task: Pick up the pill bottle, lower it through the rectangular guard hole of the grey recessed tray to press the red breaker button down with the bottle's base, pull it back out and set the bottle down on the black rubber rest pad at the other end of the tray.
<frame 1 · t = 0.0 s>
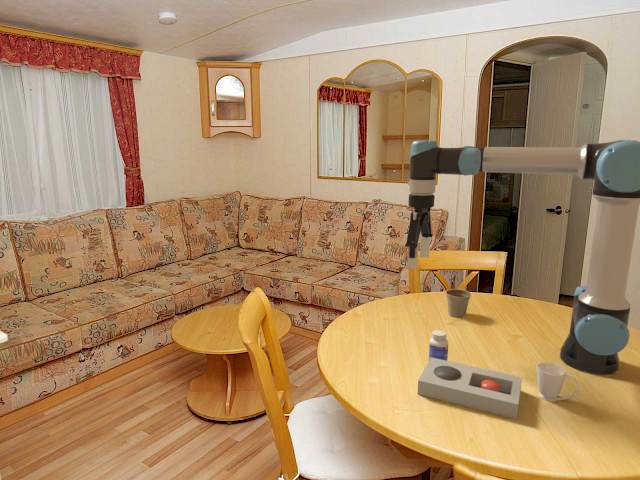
hand: (418, 262, 138), 28 cm above the table, fingers open, 13 cm apart
breaker button: (490, 387, 116), point 3 cm above the table, slide at 0.0 cm
grey recessed tray: (469, 392, 119), on the table
flower pot: (456, 315, 170), on the table
pill bottle: (437, 363, 134), on the table
cup: (554, 399, 116), on the table
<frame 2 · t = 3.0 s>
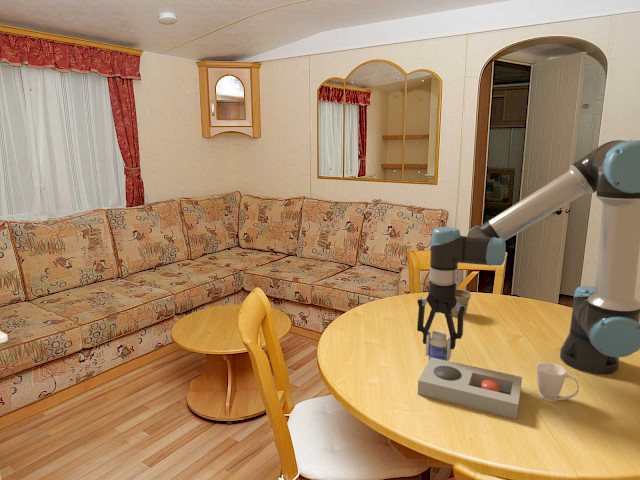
hand: (438, 355, 133), 2 cm above the table, fingers closed on pill bottle, 5 cm apart
pill bottle: (437, 363, 134), on the table, touching gripper
everything else where it was.
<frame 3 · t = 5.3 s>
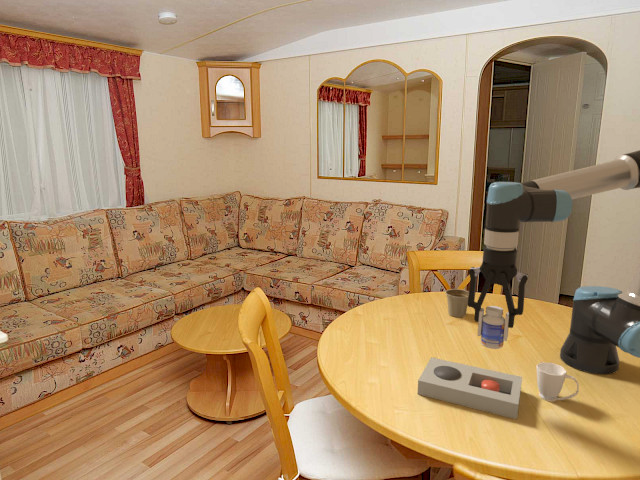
hand: (492, 336, 113), 17 cm above the table, fingers closed on pill bottle, 5 cm apart
pill bottle: (491, 345, 114), point 14 cm above the table, touching gripper
everything else where it was.
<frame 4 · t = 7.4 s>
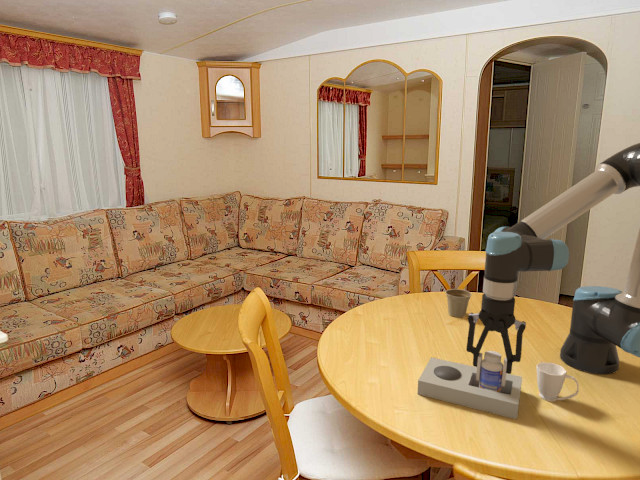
hand: (490, 380, 115), 5 cm above the table, fingers closed on pill bottle, 5 cm apart
breaker button: (489, 391, 116), point 2 cm above the table, slide at 1.3 cm, touching pill bottle
pill bottle: (489, 389, 116), point 2 cm above the table, touching breaker button, gripper
everything else where it was.
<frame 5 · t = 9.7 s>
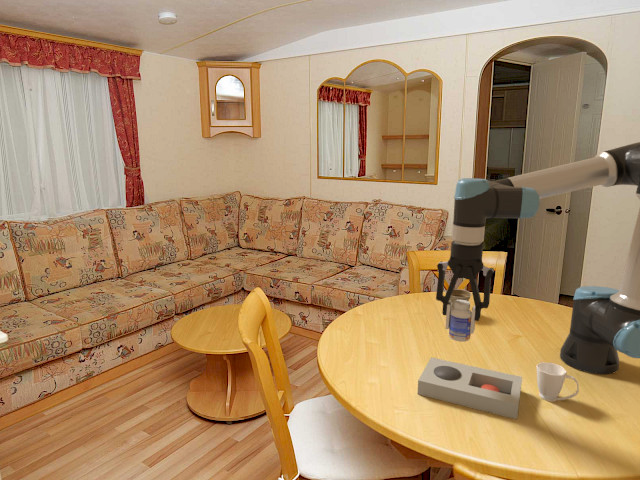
hand: (459, 329, 116), 17 cm above the table, fingers closed on pill bottle, 5 cm apart
breaker button: (489, 391, 116), point 2 cm above the table, slide at 1.3 cm
pill bottle: (459, 338, 117), point 15 cm above the table, touching gripper
everything else where it was.
when the fingers open (8 cm above the table, at t = 11.5 s): pill bottle drops 1 cm, resting on grey recessed tray.
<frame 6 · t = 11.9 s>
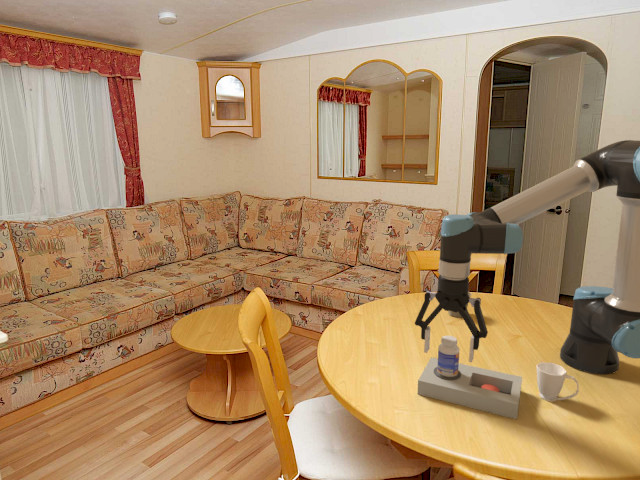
hand: (448, 355, 119), 9 cm above the table, fingers open, 11 cm apart
pill bottle: (447, 373, 120), point 4 cm above the table, touching grey recessed tray
everything else where it was.
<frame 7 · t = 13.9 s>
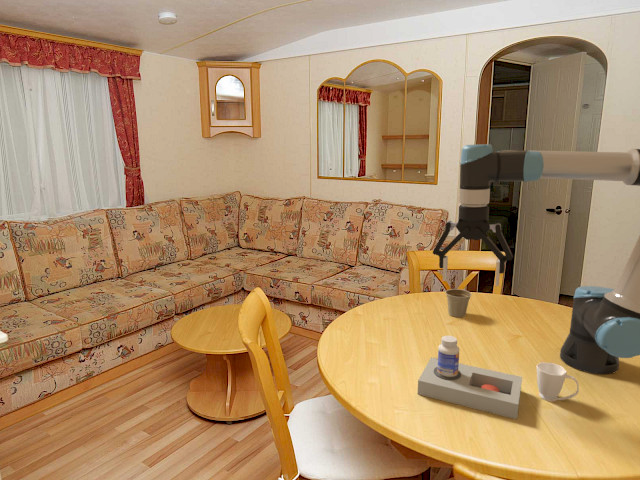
hand: (470, 282, 122), 27 cm above the table, fingers open, 13 cm apart
nothing on the table moved.
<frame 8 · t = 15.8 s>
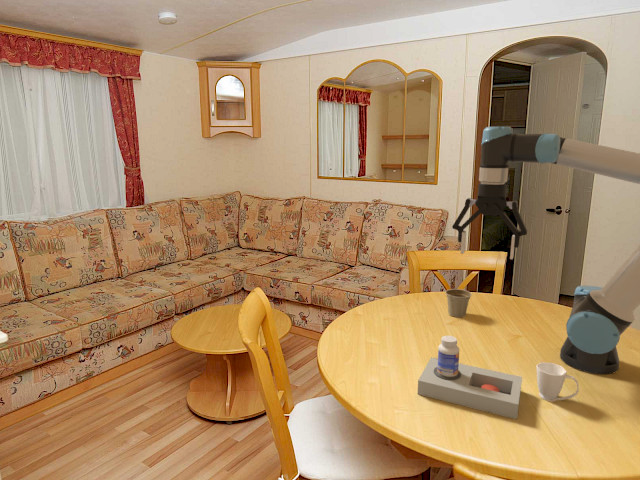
hand: (486, 255, 132), 32 cm above the table, fingers open, 13 cm apart
nothing on the table moved.
at the end: breaker button slide at 1.3 cm; pill bottle inside the target area on the grey recessed tray (0.2 cm from its centre), point 4.1 cm above the grey recessed tray's base; pill bottle tilted 0° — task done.
